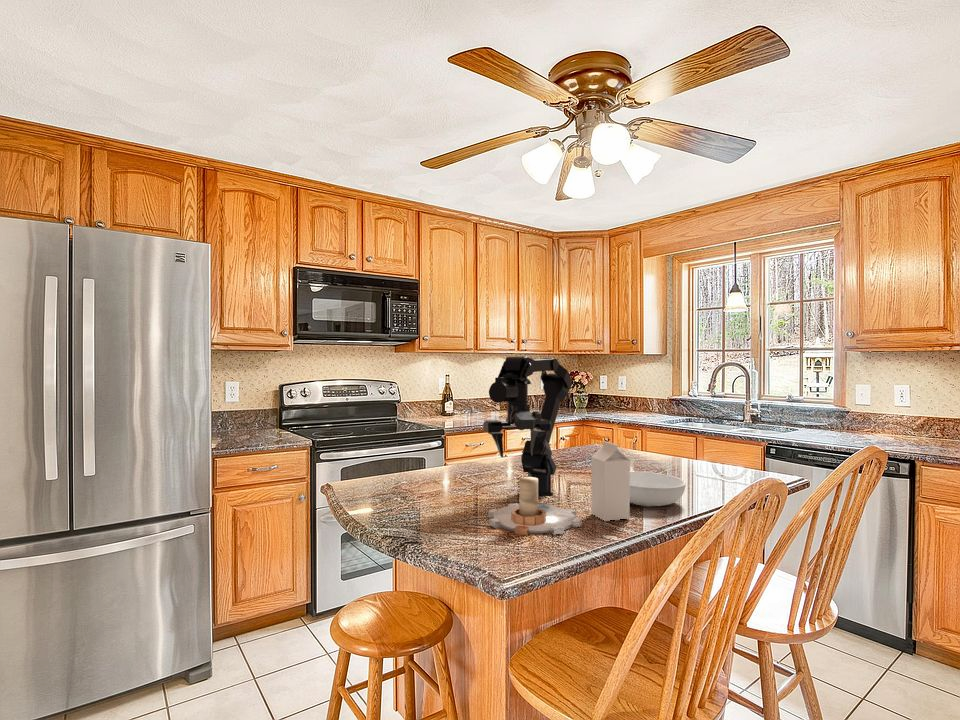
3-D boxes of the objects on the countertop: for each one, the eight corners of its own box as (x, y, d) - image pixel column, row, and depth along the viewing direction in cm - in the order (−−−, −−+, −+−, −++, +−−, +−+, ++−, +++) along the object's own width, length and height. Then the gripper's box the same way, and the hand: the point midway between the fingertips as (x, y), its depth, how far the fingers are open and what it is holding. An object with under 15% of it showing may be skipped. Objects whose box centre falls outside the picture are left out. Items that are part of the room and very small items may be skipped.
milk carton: (604, 522, 135) (604, 445, 135) (590, 514, 142) (591, 441, 142) (629, 520, 137) (629, 444, 137) (615, 512, 144) (615, 440, 144)
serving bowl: (658, 518, 139) (658, 491, 139) (592, 501, 155) (593, 477, 155) (700, 504, 152) (700, 480, 152) (635, 490, 168) (636, 468, 168)
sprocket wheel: (557, 505, 150) (557, 492, 150) (599, 531, 128) (599, 516, 128) (476, 511, 144) (476, 498, 144) (504, 540, 121) (504, 524, 121)
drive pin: (526, 516, 134) (526, 476, 134) (541, 520, 131) (541, 478, 131) (515, 520, 131) (515, 479, 131) (530, 524, 128) (530, 481, 128)
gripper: (494, 403, 143) (494, 462, 143) (559, 402, 148) (559, 459, 148) (482, 400, 154) (482, 455, 154) (543, 399, 159) (543, 453, 159)
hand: (517, 456), depth 154 cm, fingers open, 9 cm apart
